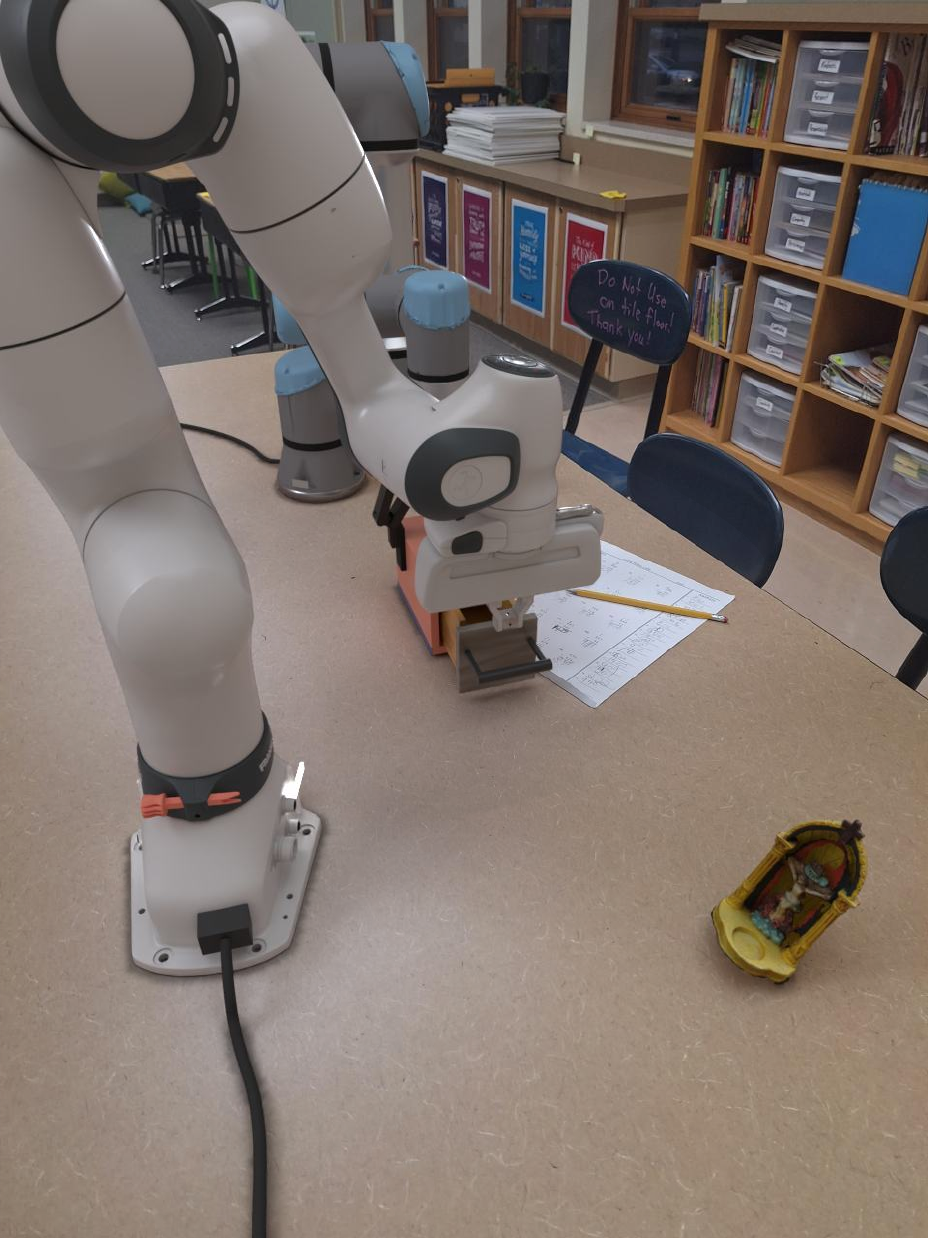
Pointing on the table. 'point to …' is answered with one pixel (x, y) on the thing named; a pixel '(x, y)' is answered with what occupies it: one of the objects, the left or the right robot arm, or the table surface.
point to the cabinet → (406, 585)
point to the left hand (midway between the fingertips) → (507, 626)
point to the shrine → (792, 897)
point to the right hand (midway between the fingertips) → (442, 559)
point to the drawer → (490, 648)
